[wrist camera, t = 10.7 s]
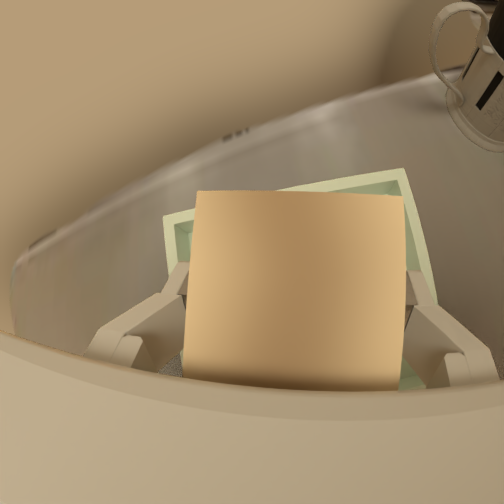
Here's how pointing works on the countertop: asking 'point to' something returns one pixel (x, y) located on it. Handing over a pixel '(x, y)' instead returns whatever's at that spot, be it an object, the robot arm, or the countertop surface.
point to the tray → (377, 183)
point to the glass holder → (477, 79)
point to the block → (296, 290)
